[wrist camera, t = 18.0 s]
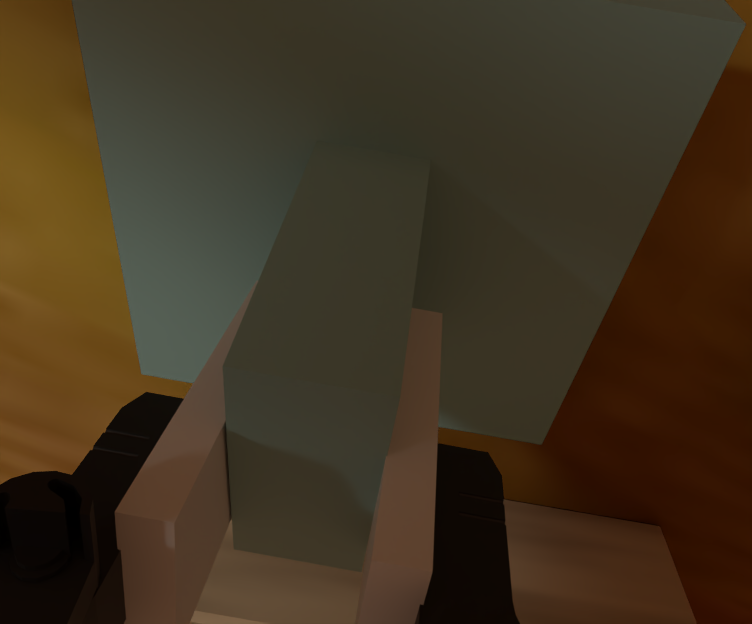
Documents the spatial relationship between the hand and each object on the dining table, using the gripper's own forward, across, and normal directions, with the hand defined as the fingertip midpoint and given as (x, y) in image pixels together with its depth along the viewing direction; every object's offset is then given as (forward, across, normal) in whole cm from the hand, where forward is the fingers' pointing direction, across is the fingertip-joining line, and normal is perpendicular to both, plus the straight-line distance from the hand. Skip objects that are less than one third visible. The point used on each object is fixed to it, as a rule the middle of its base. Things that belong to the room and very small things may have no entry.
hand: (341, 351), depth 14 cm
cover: (+4, 0, +2) cm, 4 cm away
